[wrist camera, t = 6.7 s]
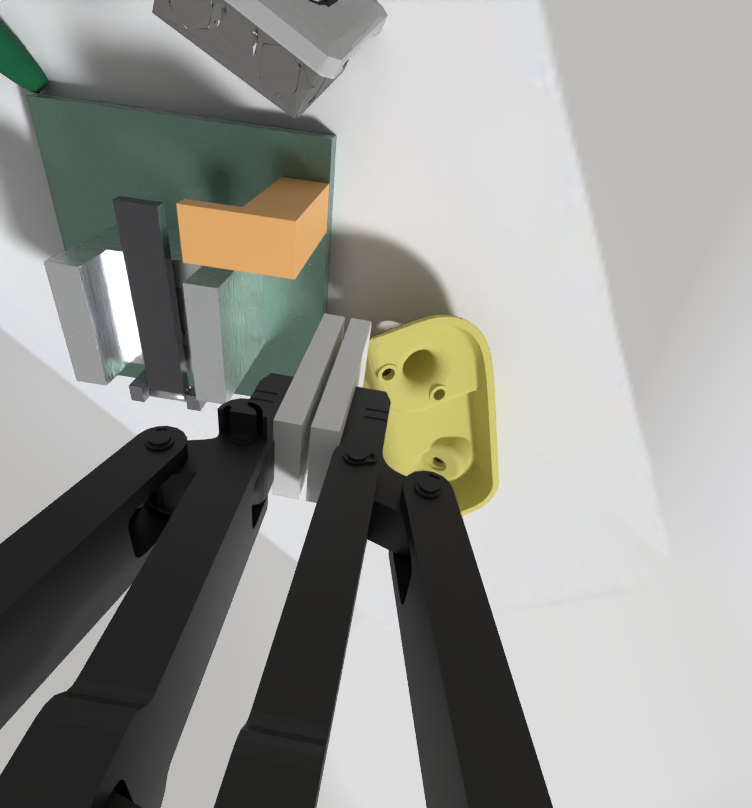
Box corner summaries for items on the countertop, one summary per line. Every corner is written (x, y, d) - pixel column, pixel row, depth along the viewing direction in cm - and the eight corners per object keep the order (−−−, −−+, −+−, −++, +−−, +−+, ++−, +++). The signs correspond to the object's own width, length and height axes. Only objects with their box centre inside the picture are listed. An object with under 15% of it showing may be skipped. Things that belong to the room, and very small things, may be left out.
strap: (120, 195, 28) (110, 200, 28) (165, 202, 28) (156, 206, 27) (156, 390, 36) (149, 399, 36) (191, 396, 36) (185, 404, 36)
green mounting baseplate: (42, 93, 32) (-86, 107, 25) (336, 135, 32) (300, 163, 24) (105, 362, 44) (31, 429, 36) (321, 396, 43) (293, 472, 36)
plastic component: (499, 500, 45) (395, 543, 43) (460, 449, 50) (367, 486, 49) (490, 297, 33) (345, 348, 31) (440, 261, 38) (315, 302, 37)
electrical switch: (392, 13, 28) (359, 23, 21) (345, 102, 31) (303, 136, 24) (242, -115, 26) (148, -153, 19) (207, -6, 29) (116, -3, 22)
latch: (235, 169, 32) (176, 203, 25) (329, 183, 32) (295, 221, 25) (237, 218, 34) (183, 262, 27) (326, 231, 34) (294, 279, 27)
